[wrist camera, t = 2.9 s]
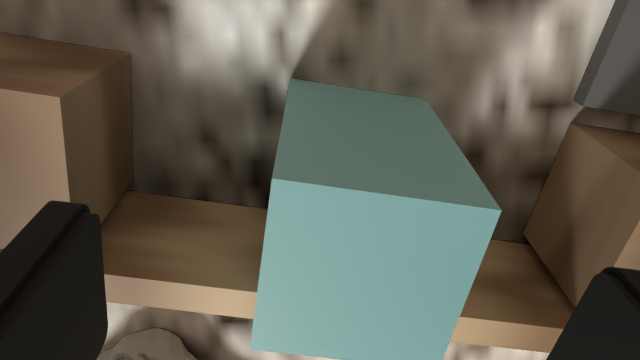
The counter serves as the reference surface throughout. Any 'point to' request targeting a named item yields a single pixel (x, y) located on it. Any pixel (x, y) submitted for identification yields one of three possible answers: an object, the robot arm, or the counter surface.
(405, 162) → the block
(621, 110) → the pad
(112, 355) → the wall plaque
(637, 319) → the robot arm
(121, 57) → the rack
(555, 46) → the counter surface
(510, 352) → the counter surface
